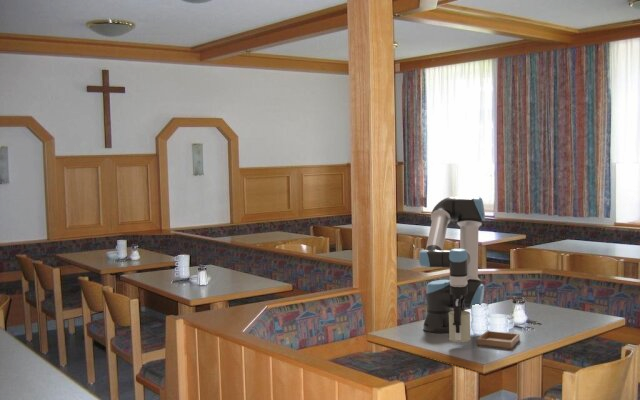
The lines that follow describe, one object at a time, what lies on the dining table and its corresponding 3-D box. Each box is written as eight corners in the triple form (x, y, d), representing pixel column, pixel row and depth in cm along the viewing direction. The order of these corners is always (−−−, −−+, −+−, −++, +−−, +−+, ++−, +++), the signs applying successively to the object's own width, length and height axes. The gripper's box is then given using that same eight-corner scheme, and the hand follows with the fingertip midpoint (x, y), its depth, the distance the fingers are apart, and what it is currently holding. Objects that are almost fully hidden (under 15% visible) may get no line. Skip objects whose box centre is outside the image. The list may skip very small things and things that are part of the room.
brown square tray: (477, 345, 304) (477, 338, 304) (487, 337, 316) (487, 330, 316) (511, 349, 297) (511, 342, 296) (519, 340, 309) (519, 334, 309)
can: (474, 338, 301) (474, 311, 300) (463, 343, 294) (463, 315, 293) (456, 335, 307) (455, 308, 306) (444, 339, 300) (444, 312, 300)
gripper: (464, 290, 288) (465, 344, 289) (470, 280, 308) (471, 331, 310) (445, 289, 290) (447, 343, 292) (453, 280, 310) (454, 330, 312)
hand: (459, 336), depth 301 cm, fingers closed on can, 9 cm apart
